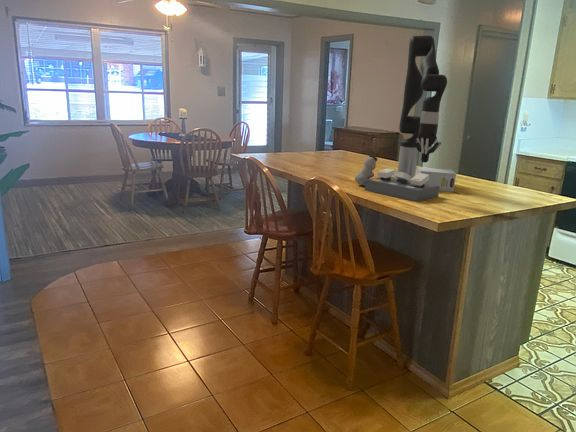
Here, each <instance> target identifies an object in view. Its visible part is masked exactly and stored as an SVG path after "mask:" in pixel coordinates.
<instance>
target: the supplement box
mask: <svg viewBox="0 0 576 432" xmlns="http://www.w3.org/2000/svg"><path fill="white" fill-rule="evenodd" d="M418 173H423V174H429V180H428V181H427V182H425V183H428V184H433V185H438V186H440V188H439V192H440V191H441V192H452V191H453V192H454V191H455V184H456V177H457V172H455V171H454V170H453V169H452V168H436V167H424V166H423V167H422V166H416V173H415V176H416V175H417V174H418Z"/></svg>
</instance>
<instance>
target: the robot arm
mask: <svg viewBox="0 0 576 432" xmlns="http://www.w3.org/2000/svg"><path fill="white" fill-rule="evenodd" d="M435 43H436V42H435V38H434V37H433V36H431V35H412V36H411V38H410V40H409V44H408V54H407V55H408V57H407V58H408V59H407V68H406V69H407V71H406V77H405V84H404V92H403V101H402V102H403V103H402V109H401V115H400V118H399V119H400V121H399V132H400V134H406V135H407V134H409V135H411V137H408V138H406V139H402V140H401V141H400V144H399V145H400V147H399V153H398V154H399V155H398V164H397V171H398V172H404V173H406V174H408V175H410V176H412V177H411V179H412V178H413V177H414V176H416V174H417V163H418V161H417V159H418V158H417V157H418V153H421V156H420V157H421V158H420V160H421V163H428V162H429V160H430V154H433V153H434V152H436V150H437V149H438V148H439V147H440V146H441V144H442V142H441V141H440V142H439V141H438V138H437V134H438V128H439V120H440V113H439V112H440V106H441V100H442V98H443V95H444V93H445V91H446V88H447V85H448V78H447V76H446V75H444V74H440V69H439V66H438V63H437V58H436V57H437V55H436V53H437V52H436V44H435ZM417 57H424V58H423V59H422V60H421V63H420V69H419V67H418V65H417V63H416V58H417ZM420 71H421V72H420ZM424 92H431V93H433V92H435V93H434V95H433V96H430V97H428V96H427V97H424V99H423V101H422V109H421V115H420V116H417V115H416V116H415V115H409V113H410V112H411V110H412V109H413V107H414V106H415V105H416V104H417V103H418V102H420V100H421V98H422V96H423V94H424Z"/></svg>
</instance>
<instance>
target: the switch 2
mask: <svg viewBox="0 0 576 432" xmlns="http://www.w3.org/2000/svg"><path fill="white" fill-rule="evenodd" d="M393 177H396V178H399V179H402V180H407V181H411V180H410V179H411V177H412V176H410V175H408V174H406V173H404V172H398V170H395V172H394V175H393Z"/></svg>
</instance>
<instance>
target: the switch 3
mask: <svg viewBox="0 0 576 432" xmlns="http://www.w3.org/2000/svg"><path fill="white" fill-rule="evenodd" d="M416 174H417V173H416ZM416 174H415V176H414V177H413V178H412V179H410V180H411V184H412V185H417V186H422V185H423V184H424V183H425V182H427V181H428V180H429V174H423V173H418V174H417V175H416Z"/></svg>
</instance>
